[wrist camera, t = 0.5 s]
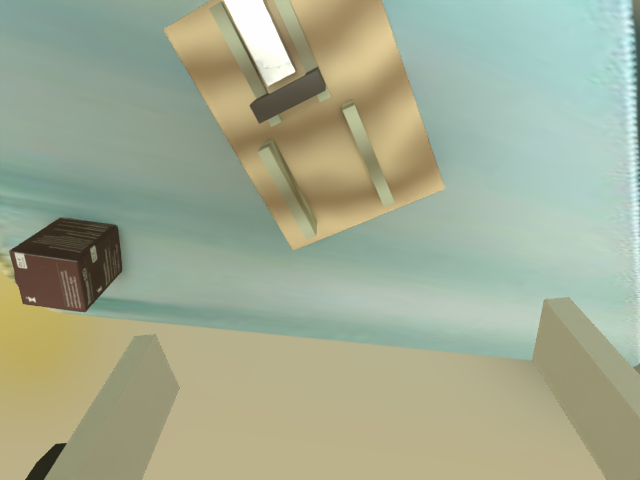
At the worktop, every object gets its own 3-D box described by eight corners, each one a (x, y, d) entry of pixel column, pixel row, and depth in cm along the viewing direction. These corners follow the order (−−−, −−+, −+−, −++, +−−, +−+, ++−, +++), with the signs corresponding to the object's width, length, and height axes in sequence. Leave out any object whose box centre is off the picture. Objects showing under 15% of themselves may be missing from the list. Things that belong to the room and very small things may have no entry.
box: (123, 271, 42) (86, 314, 36) (68, 263, 42) (21, 305, 36) (118, 224, 39) (77, 261, 33) (59, 215, 39) (6, 250, 33)
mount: (170, 29, 31) (140, 28, 26) (351, -80, 27) (356, -105, 22) (294, 243, 40) (289, 272, 35) (440, 182, 36) (457, 206, 32)
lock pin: (225, -9, 28) (217, -13, 26) (253, -26, 27) (247, -31, 25) (271, 82, 31) (267, 86, 29) (297, 69, 30) (295, 71, 28)
